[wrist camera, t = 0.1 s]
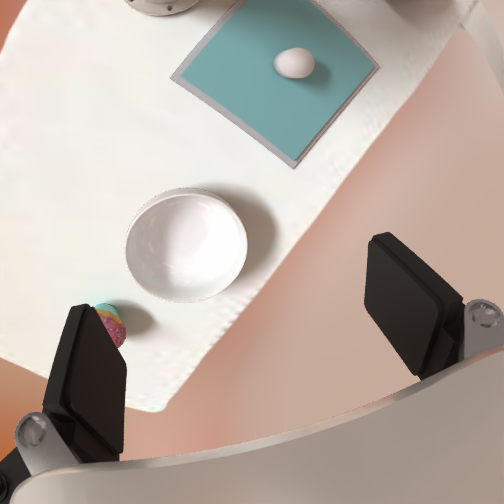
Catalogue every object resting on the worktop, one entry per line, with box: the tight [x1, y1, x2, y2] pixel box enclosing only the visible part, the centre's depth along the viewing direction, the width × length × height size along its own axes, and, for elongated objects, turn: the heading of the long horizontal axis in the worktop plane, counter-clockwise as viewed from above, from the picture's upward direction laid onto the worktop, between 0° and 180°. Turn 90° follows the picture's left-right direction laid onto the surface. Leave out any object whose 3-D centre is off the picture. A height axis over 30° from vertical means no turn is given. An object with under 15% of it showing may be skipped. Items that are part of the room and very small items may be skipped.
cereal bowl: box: [124, 188, 248, 303], centre depth 45 cm, size 17×17×7 cm
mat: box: [170, 0, 379, 169], centre depth 39 cm, size 22×22×1 cm
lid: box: [180, 0, 375, 161], centre depth 36 cm, size 20×20×6 cm
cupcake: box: [95, 304, 126, 348], centre depth 47 cm, size 9×8×12 cm
